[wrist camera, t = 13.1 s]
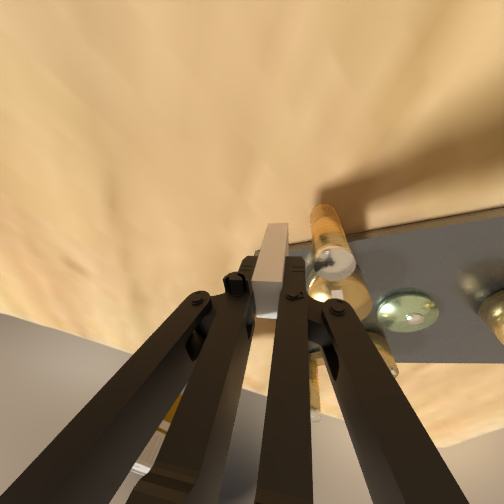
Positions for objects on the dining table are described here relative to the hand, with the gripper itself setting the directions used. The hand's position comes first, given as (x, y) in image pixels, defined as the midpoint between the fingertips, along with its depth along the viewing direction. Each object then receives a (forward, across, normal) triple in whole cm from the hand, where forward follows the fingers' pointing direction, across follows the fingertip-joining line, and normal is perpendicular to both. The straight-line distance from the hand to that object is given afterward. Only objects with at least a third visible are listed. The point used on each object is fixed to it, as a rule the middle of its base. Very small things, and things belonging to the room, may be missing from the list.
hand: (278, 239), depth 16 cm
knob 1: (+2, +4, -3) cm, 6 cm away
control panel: (+4, +12, -9) cm, 15 cm away
